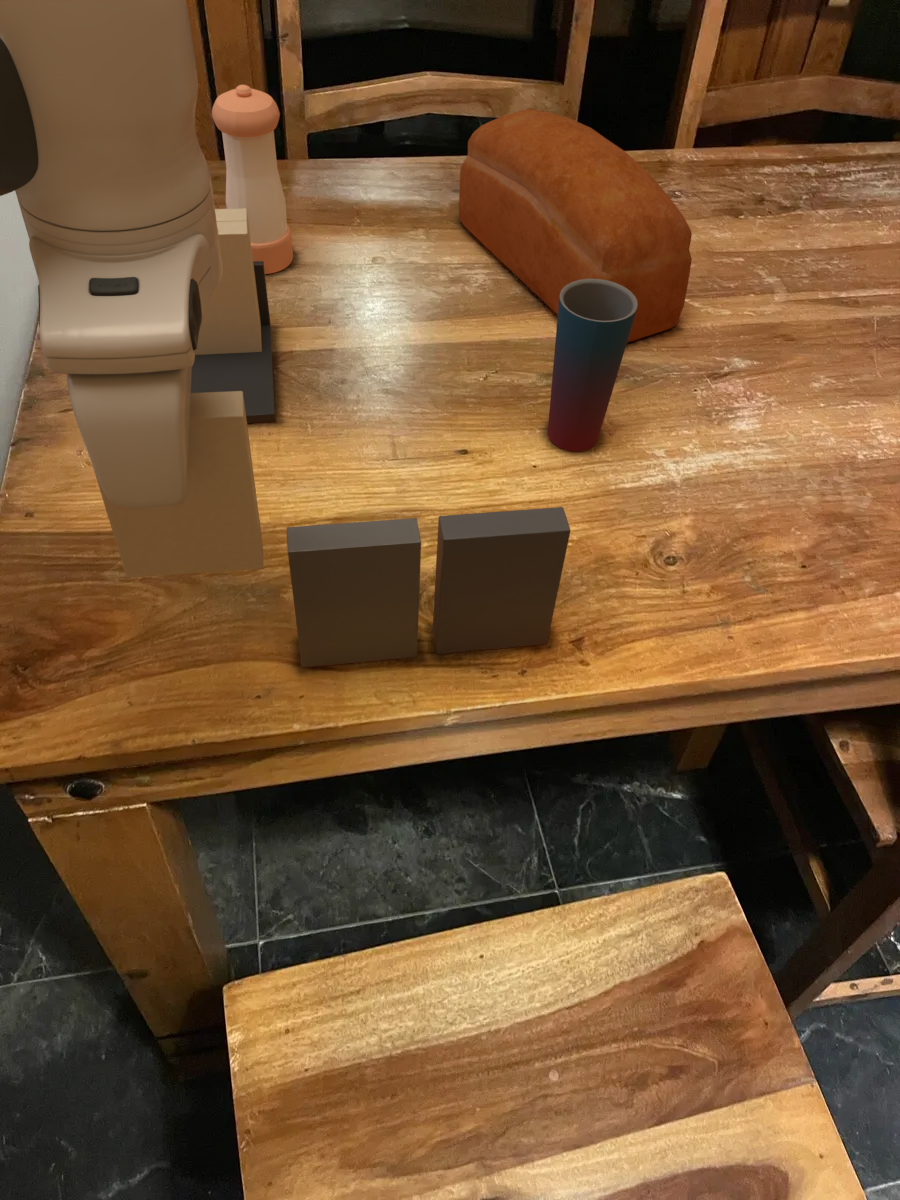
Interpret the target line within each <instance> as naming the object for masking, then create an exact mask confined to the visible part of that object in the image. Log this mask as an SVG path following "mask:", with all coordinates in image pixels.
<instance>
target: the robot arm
mask: <svg viewBox="0 0 900 1200" xmlns="http://www.w3.org/2000/svg"><path fill="white" fill-rule="evenodd" d="M195 55H196V54H195V49H194V42H193V35H192V30H191V24H190V16H189V10H188V5H187V1H186V0H0V197H1V196H5V195H7V194H10V193H13V192H15V195H16V199H17V202H18V206H19V208H20V212H21V213H20V214H21V216H22V219H23V223H24V226H25V229H26V234H27V236H28V239H29V241H28V247H29V252H30V256H31V259H32V263H33V266H34V270H35V272H36V276H37V279H38V284H37V293H38V294H37V296H38V327H39V342H40V347H41V351H42V354H43V357H44V360H45V363H46V365H47V367H48V369H49V371H50V372H51V373H53V374H63V375H65V374H66V383H67V389H68V395H69V400H70V404H71V407H72V411H73V415H74V418H75V420H76V423H77V426H78V429H79V433H80V435H81V437H82V441H83V442H84V446H85V449H86V452H87V454H88V457H89V459H90V461H91V465H92V468H93V467H94V468H93V471H94V470H95V472H96V475H97V477H98V480H99V482H100V485H101V487H102V490H103V492H104V494H105V495H106V497H107V499H108V500H109V501H110V502H111V503H112V504H113V505H115V506H116V507H118V508H120V509H123V510H151V509H162V508H173V507H178V506H180V505H182V504H183V503H184V502H185V500H186V495H187V465H188V442H189V420H190V397H191V374H192V366H193V364H194V360H195V350H196V349H197V343H198V336H199V330H200V326H201V322H202V318H203V315H204V313H205V310H206V308H207V306H208V303H209V301H210V298H211V294H212V292H213V291H214V290H215V289H216V287H217V286H218V284H219V282H220V280H221V277H222V272H223V266H222V258H221V250H220V243H219V235H218V228H217V222H216V214H215V209H216V207H215V199H214V191H213V183H212V175H211V172H210V168H209V165H208V162H207V160H206V159H207V158H206V157H205V155H204V152H203V151H202V148H201V145H200V143H199V139H198V135H197V129H196V109H197V103H198V98H199V97H198V96H199V78H198V70H197V63H196V56H195ZM95 472H94V473H95ZM96 475H95V476H96Z"/></svg>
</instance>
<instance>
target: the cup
mask: <svg viewBox="0 0 900 1200" xmlns="http://www.w3.org/2000/svg"><path fill="white" fill-rule="evenodd" d="M637 307H638V303H637V299H636V297H635V296H634V294H633V293H632V292H631V291H629V290H628V289H627V288H625V287H623V286H622V285H619V284H617V283H614V282H611V281H607V280H602V279H582V280H577V281H574V282H571V283H569V284H567V285H566V286H565V287H564V288H563V289H562V290H561V292H560V295H559V306H558V315H557V319H556V329H555V342H554V353H553V354H554V355H553V363H552V364H553V367H552V377H551V386H550V387H551V388H550V399H549V411H548V424H547V436H548V437H547V438H548V439H549V441H550V442H551V443H552V444H553V445H554V446H556V447H557V448H558V449H561V450H564V451H566V452H567V451H568V452H574V453H575V452H576V453H577V452H578V453H579V452H585V451H588V450H591V449H592V448H594V447H595V446H596V445H597V444H598V441H599V437H600V434H601V431H602V427H603V425H604V421H605V418H606V414H607V411H608V408H609V404H610V401H611V398H612V394H613V391H614V387H615V384H616V381H617V377H618V374H619V371H620V367H621V364H622V360H623V357H624V355H625V351H626V347H627V344H628V342H627V341H628V338H629V334H630V331H631V328H632V324H633V321H634V317H635V314H636V311H637Z"/></svg>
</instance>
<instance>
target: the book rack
mask: <svg viewBox="0 0 900 1200" xmlns="http://www.w3.org/2000/svg"><path fill="white" fill-rule="evenodd" d="M215 214H216V222H217V228H218V235H219V243H220V250H221V258H222V266H223V272H222V277H221V280H220V282H219V284H218V286H217V287H216V289H215V290H214V291H213V292H212V294H211V298H210V301H209V303H208V306H207V308H206V310H205V313H204V315H203V318H202V322H201V326H200V330H199V336H198V343H197V349H196V350H195V360H194V364H193V366H192V374H191V393H206V392H231V391H242V392H243V396H244V404H245V411H246V419H247V424H259V423H260V424H261V423H275V422H276V420H277V419H276V403H275V402H276V401H275V384H274V381H275V380H274V359H273V340H272V325H271V317H270V308H269V299H268V290H267V289H268V287H267V279H266V274H265V270H264V262H263V261H253V256H252V248H251V239H250V231H249V223H248V215H247V209H246V208H243V209H227V208H215Z"/></svg>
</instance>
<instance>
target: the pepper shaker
mask: <svg viewBox="0 0 900 1200" xmlns="http://www.w3.org/2000/svg"><path fill="white" fill-rule="evenodd" d="M280 115H281V112H280V110H279V107H278V104H277V102H276V101H275V99H273V97H272V95H270V94H268V93H266V92H264V91H261V90H259V89H256V88H251V87H250V86H249V85H247V84H239V85H237V86H236V87H235V88H233V89H230V90H227V91H225V92H223V93H221V94H219V95H218V96H217V97H216V99H215V101H214V103H213V105H212V108H211V117H212V120H213V122H214V124H215V126H216V127H217V129H218V130H219V131H220V132H221V135H222V142H223V144H222V145H223V149H224V150H223V151H224V160H225V168H226V171H225V173H226V175H225V206H226V207H225V208H226V209H243V208H246V209H247V215H248V223H249V231H250V239H251V248H252V256H253V261H263V262H264V270H265V275H267V274H269V275H270V274H274V273H278V272H280V271H283V270H285V269H286V268H288V267H289V266H290V265H291V264H292V262H293V259H294V252H293V242H292V241H293V240H292V230H291V228H290V225H289V224H288V222H287V205H286V204H287V203H286V197H285V192H284V189H283V185H282V181H281V177H280V173H279V172H280V171H279V169H278V160H277V151H276V140H275V129H277V128H278V127H277V126H278V124H279V120H280Z"/></svg>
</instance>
